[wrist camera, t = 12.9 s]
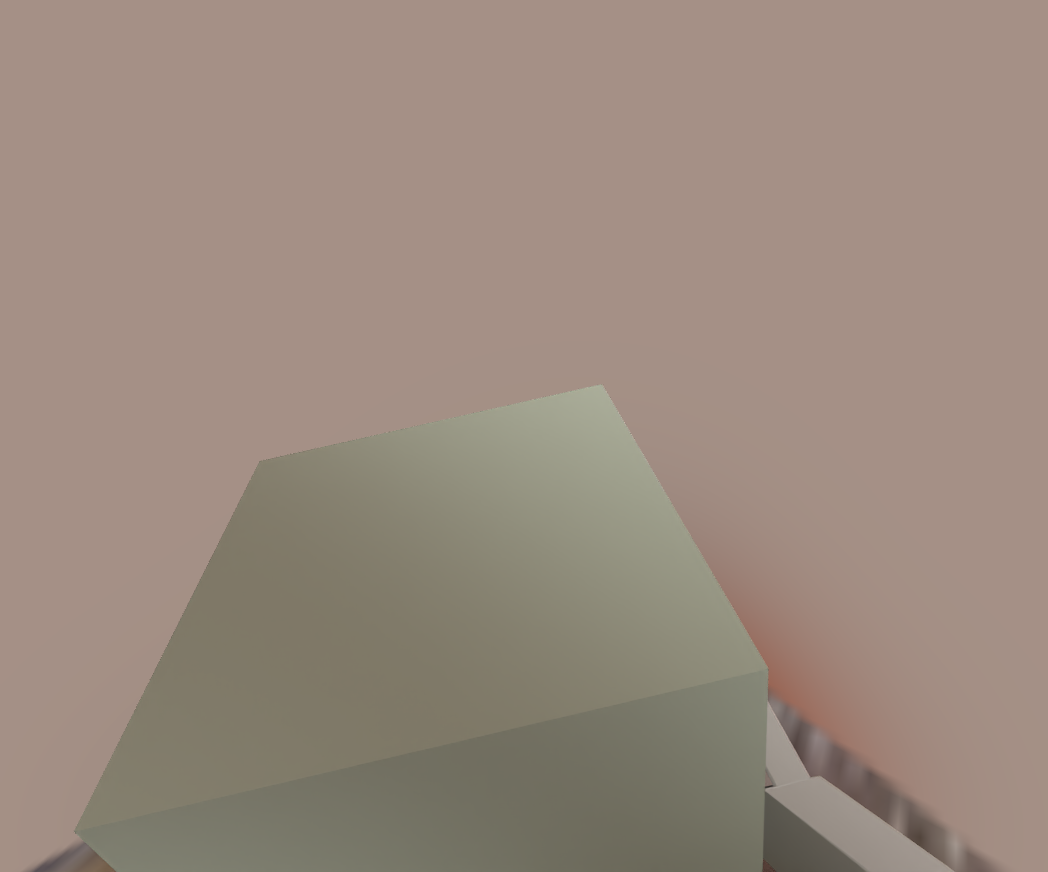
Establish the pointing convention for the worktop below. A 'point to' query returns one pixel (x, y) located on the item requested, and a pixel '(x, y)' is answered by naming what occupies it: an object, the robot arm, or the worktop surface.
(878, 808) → the worktop surface
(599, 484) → the sage block
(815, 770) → the worktop surface
